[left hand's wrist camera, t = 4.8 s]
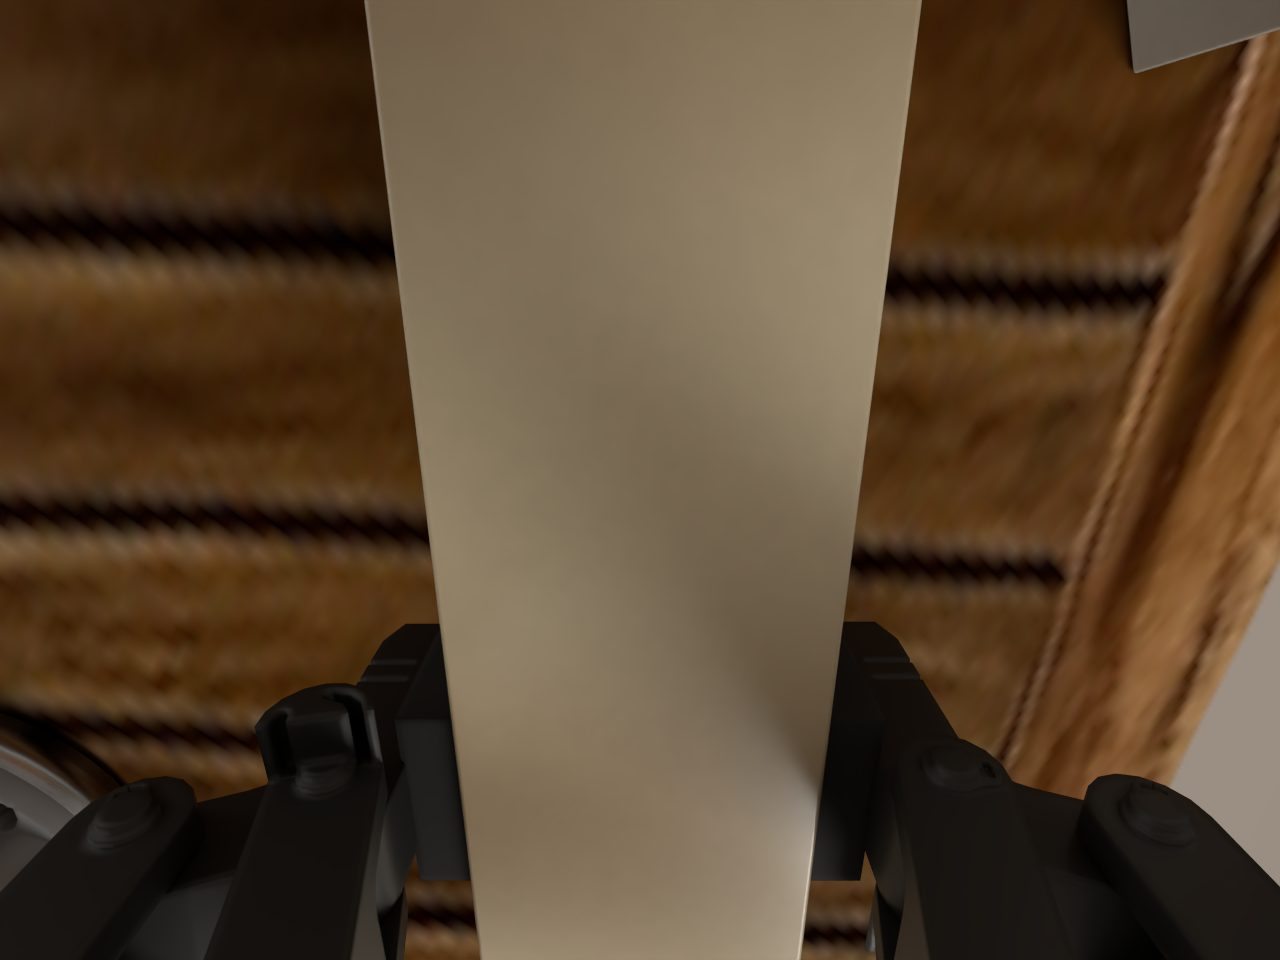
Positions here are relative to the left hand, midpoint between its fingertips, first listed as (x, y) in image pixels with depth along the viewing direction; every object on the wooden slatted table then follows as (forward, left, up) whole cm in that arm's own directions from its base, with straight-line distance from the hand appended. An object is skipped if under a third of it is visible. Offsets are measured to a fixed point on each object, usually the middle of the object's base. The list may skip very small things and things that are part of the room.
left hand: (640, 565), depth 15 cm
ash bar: (0, +10, 0) cm, 10 cm away
